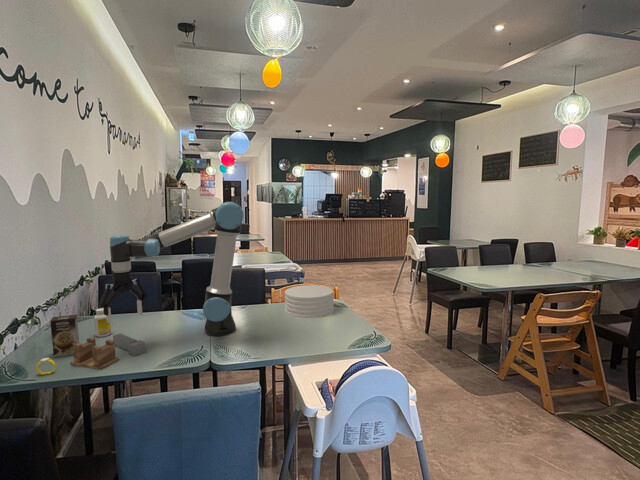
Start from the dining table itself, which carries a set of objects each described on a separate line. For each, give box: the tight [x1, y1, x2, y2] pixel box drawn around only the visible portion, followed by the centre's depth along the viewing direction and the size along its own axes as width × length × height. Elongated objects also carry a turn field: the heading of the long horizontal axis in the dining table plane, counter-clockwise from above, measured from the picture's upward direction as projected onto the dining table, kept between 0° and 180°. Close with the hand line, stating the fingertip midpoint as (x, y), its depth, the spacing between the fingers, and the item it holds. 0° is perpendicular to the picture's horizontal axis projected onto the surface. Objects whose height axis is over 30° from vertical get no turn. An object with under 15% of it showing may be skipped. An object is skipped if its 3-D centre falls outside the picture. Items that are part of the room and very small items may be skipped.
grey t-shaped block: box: [112, 332, 147, 357], centre depth 172 cm, size 20×6×4 cm, turn 53°
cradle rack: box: [70, 336, 121, 370], centre depth 159 cm, size 16×9×8 cm, turn 73°
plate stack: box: [284, 284, 335, 319], centre depth 225 cm, size 28×28×12 cm
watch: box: [35, 357, 57, 376], centre depth 149 cm, size 6×3×6 cm, turn 108°
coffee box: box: [49, 314, 80, 358], centre depth 168 cm, size 9×6×16 cm
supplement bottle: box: [93, 307, 112, 338], centre depth 190 cm, size 7×7×13 cm
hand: (125, 318), depth 171 cm, fingers open, 13 cm apart
